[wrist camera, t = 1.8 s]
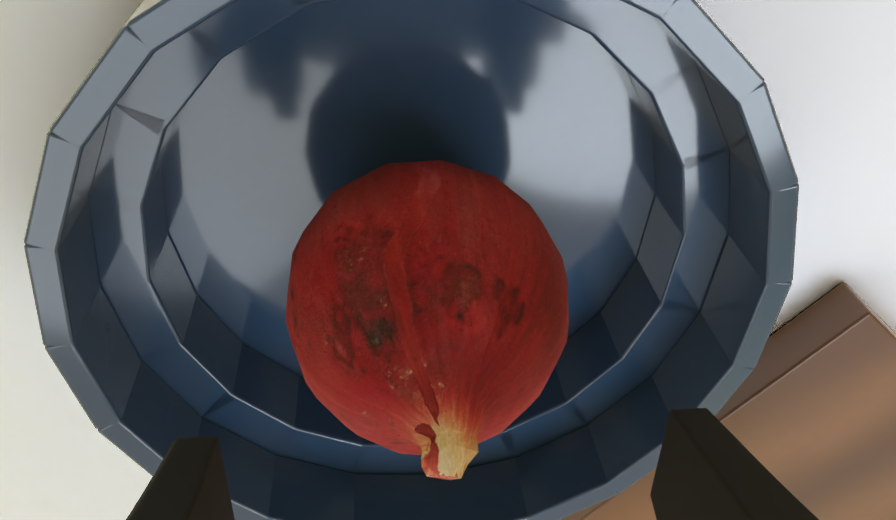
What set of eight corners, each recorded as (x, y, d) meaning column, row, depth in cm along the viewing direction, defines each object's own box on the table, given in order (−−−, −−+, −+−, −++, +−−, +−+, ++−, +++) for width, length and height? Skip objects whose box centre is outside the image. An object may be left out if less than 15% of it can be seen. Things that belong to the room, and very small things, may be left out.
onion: (248, 178, 19) (189, 424, 12) (463, 56, 18) (529, 253, 11) (378, 340, 22) (388, 607, 15) (568, 244, 21) (670, 489, 14)
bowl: (828, 172, 21) (933, 270, 17) (434, 491, 26) (447, 619, 22) (380, -326, 14) (389, -346, 10) (-27, 239, 19) (-118, 361, 16)
